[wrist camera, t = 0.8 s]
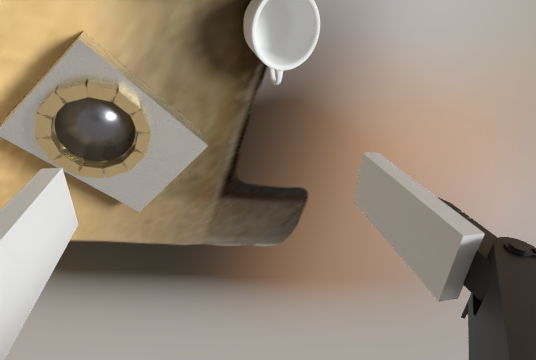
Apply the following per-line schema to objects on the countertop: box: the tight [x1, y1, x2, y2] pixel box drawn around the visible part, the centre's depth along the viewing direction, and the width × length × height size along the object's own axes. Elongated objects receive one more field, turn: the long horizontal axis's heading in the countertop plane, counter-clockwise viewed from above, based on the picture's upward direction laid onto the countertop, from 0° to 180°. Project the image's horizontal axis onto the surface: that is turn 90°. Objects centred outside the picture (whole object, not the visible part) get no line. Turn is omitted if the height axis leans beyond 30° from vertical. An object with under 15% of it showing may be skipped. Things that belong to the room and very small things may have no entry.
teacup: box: [243, 0, 320, 85], centre depth 35 cm, size 10×8×5 cm
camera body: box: [0, 31, 208, 212], centre depth 35 cm, size 16×12×6 cm
